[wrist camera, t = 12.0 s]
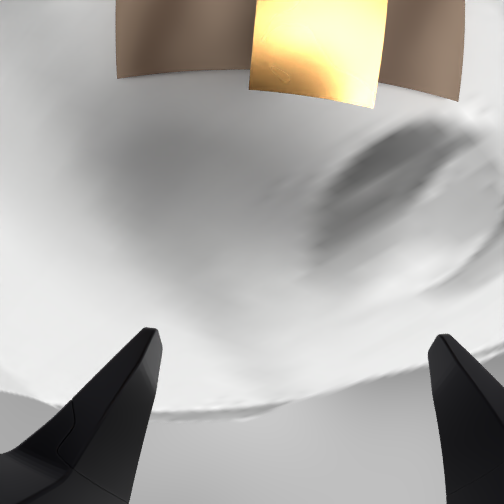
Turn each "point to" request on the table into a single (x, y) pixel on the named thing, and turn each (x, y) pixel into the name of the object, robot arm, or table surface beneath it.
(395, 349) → the table surface
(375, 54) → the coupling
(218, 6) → the base plate
